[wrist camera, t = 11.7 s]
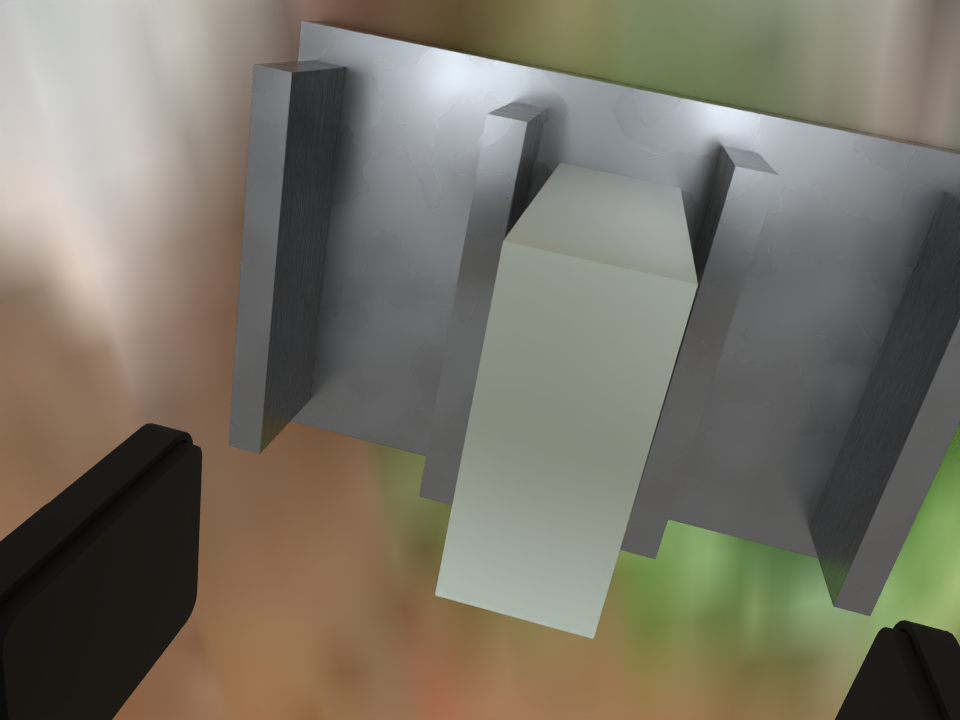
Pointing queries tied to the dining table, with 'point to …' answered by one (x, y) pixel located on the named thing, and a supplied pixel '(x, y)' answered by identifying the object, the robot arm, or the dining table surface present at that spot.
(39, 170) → the dining table surface
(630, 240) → the pale green rectangular prism
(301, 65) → the rack
